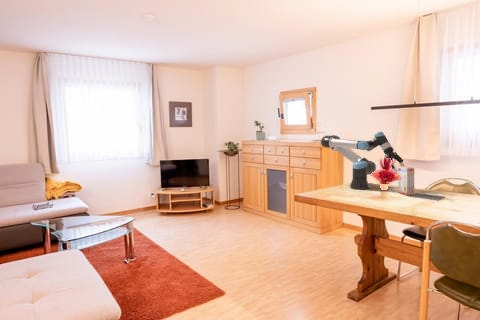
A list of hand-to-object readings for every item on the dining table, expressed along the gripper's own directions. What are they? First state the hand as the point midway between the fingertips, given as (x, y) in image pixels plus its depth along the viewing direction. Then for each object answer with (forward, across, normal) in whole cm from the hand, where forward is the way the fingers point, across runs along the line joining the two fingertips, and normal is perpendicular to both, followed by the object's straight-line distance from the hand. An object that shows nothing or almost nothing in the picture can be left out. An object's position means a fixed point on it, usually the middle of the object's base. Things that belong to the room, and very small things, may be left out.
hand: (400, 170), depth 260 cm
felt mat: (+27, -11, -13) cm, 32 cm away
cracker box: (+19, -13, -1) cm, 23 cm away
